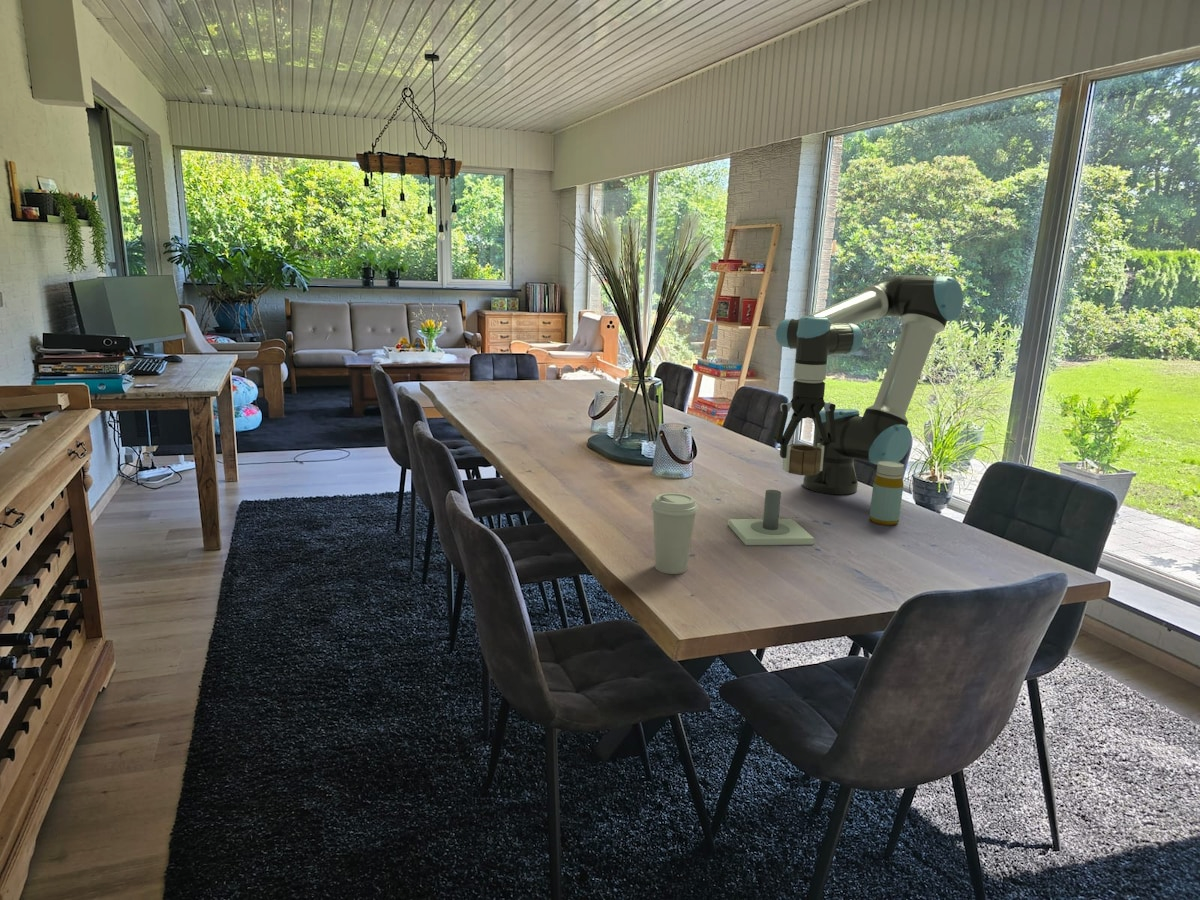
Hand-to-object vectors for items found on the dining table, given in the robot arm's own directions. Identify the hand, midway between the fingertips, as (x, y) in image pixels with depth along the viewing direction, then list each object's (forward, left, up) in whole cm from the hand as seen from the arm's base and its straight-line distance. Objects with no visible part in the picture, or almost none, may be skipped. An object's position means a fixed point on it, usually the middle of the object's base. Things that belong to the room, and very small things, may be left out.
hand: (802, 469), depth 194 cm
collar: (0, 0, 0) cm, 0 cm away
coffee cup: (+40, +34, -12) cm, 54 cm away
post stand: (+12, +14, -12) cm, 22 cm away
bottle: (-21, +5, -12) cm, 25 cm away
